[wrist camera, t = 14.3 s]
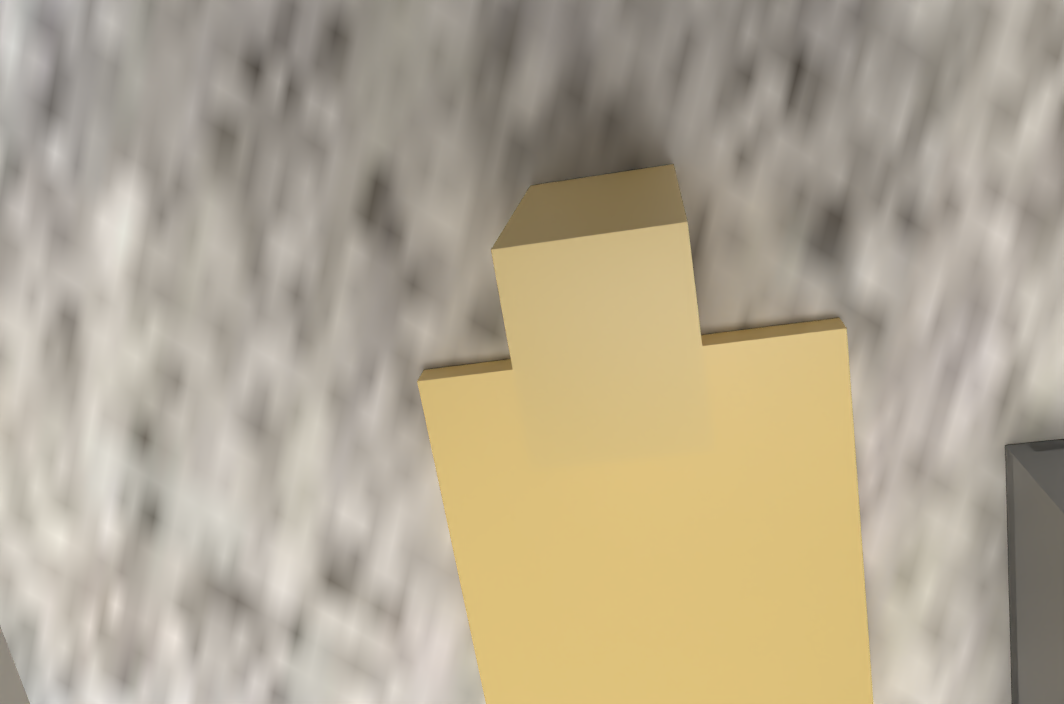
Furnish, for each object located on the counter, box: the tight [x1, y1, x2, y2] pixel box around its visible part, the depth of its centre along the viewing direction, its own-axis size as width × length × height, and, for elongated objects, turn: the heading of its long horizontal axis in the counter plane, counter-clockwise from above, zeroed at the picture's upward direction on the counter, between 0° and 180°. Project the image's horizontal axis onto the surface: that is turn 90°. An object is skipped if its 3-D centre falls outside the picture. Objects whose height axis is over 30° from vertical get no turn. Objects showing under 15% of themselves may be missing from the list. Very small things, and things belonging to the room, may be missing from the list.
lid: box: [417, 164, 873, 704], centre depth 27 cm, size 21×12×8 cm, turn 9°
